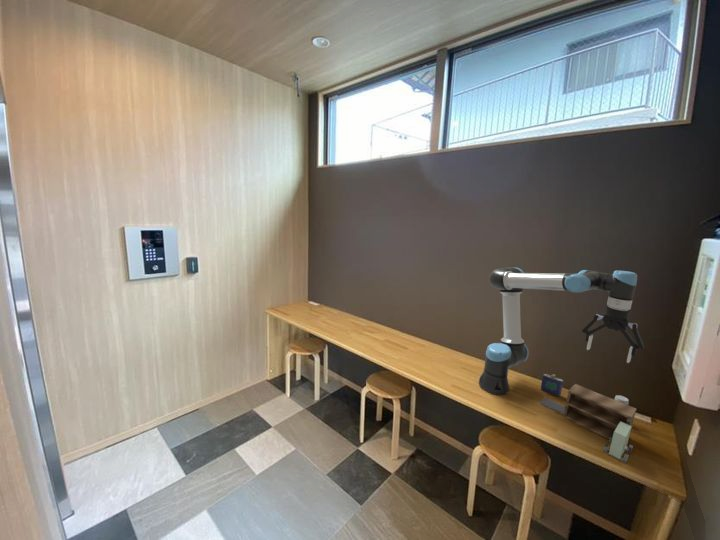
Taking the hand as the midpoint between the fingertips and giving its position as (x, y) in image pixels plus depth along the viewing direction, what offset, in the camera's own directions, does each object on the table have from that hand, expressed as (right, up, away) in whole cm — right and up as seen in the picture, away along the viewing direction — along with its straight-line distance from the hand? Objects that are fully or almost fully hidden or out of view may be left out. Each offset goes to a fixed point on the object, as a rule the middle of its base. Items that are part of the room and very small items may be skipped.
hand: (607, 355), depth 127 cm
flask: (-5, -29, +31) cm, 43 cm away
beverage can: (+13, -34, +11) cm, 38 cm away
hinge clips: (-2, -37, -7) cm, 38 cm away
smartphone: (-9, -32, +18) cm, 38 cm away
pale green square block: (-2, -36, -8) cm, 37 cm away
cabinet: (0, -34, +6) cm, 35 cm away
